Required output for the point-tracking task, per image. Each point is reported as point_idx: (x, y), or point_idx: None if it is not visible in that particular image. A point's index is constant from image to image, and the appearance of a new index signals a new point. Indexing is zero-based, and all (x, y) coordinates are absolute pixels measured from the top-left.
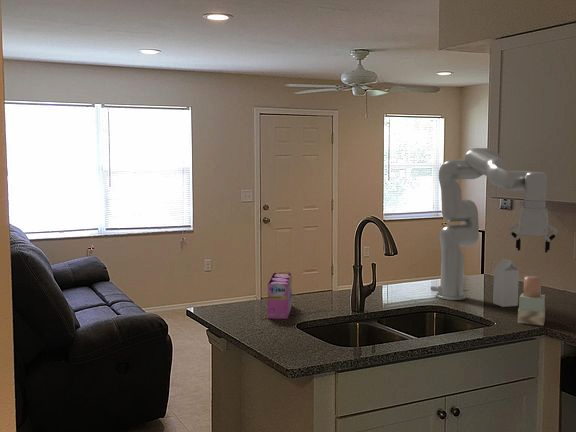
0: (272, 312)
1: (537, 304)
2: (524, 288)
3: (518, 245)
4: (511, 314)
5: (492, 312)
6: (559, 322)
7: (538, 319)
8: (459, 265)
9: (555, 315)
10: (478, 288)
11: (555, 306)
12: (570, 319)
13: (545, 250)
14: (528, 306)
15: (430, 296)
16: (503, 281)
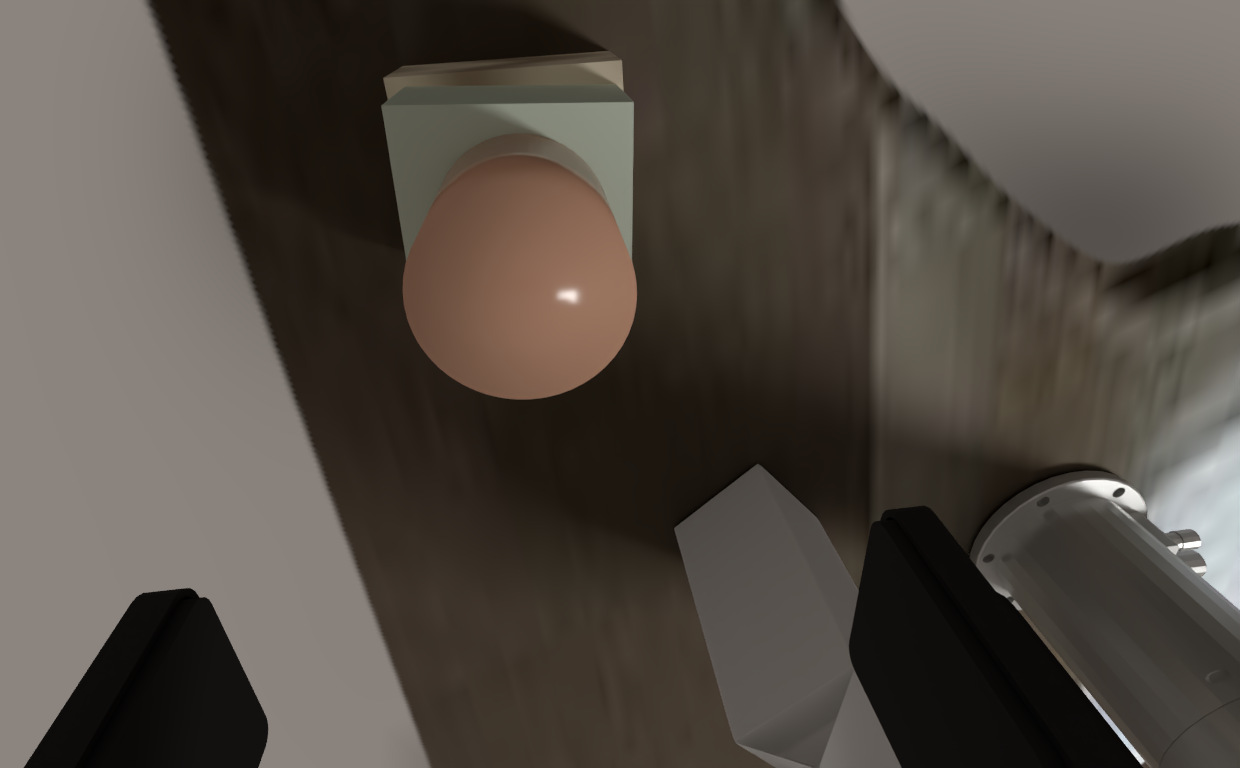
0: None
1: (441, 95)
2: (600, 190)
3: (981, 609)
4: (684, 304)
5: (812, 296)
6: (325, 237)
7: (439, 68)
8: (1192, 699)
9: (410, 423)
10: None
11: (470, 621)
12: (288, 366)
13: (169, 628)
14: (531, 89)
15: (1170, 501)
16: (820, 589)
